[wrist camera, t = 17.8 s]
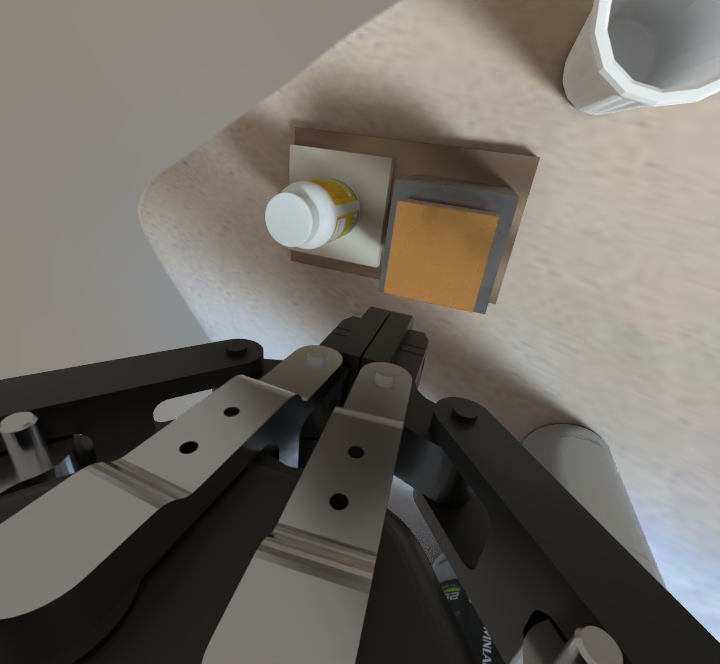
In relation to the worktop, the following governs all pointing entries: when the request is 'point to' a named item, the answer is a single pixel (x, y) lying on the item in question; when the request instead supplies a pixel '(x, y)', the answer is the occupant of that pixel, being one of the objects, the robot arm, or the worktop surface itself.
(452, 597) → the supplement tub
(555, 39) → the worktop surface
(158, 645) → the robot arm
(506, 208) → the open box
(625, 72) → the cup
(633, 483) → the worktop surface
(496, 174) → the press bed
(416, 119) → the worktop surface
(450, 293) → the plunger
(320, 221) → the supplement bottle
